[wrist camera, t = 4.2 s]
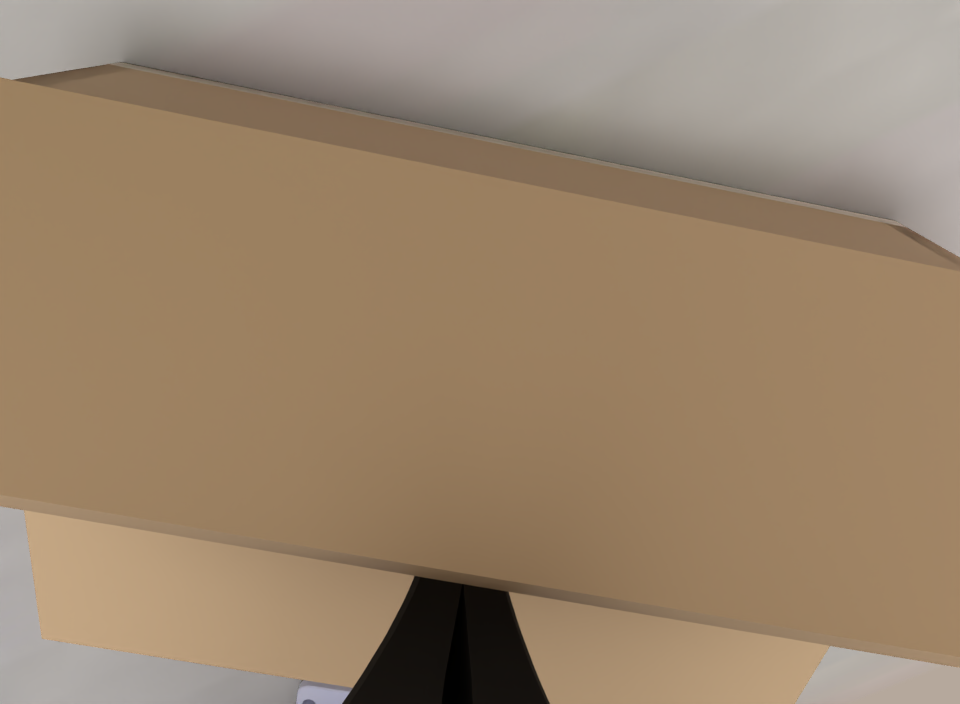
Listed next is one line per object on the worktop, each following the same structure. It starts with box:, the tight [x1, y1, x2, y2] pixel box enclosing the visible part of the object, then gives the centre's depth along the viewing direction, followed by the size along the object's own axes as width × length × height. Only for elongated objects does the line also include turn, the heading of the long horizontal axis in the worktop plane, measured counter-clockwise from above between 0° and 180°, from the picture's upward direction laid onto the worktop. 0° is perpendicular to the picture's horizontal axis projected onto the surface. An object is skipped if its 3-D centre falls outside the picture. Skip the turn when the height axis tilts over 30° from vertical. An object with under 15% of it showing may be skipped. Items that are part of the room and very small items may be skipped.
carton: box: [14, 62, 960, 704], centre depth 18 cm, size 14×20×6 cm
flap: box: [0, 78, 960, 667], centre depth 11 cm, size 7×20×1 cm
